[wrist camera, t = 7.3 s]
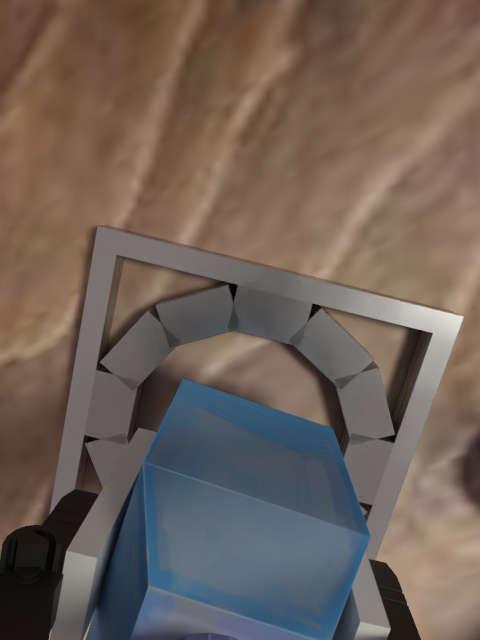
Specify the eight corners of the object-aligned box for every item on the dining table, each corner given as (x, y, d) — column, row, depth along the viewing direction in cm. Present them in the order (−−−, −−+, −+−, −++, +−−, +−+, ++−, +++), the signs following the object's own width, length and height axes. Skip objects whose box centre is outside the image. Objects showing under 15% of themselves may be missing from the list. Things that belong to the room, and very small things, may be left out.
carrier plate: (107, 225, 20) (68, 226, 16) (451, 311, 20) (500, 334, 16) (44, 588, 25) (1, 662, 20) (328, 657, 25) (341, 743, 21)
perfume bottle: (139, 510, 19) (-57, 986, 7) (183, 378, 18) (28, 696, 6) (279, 555, 19) (310, 1090, 7) (332, 428, 18) (475, 835, 6)
